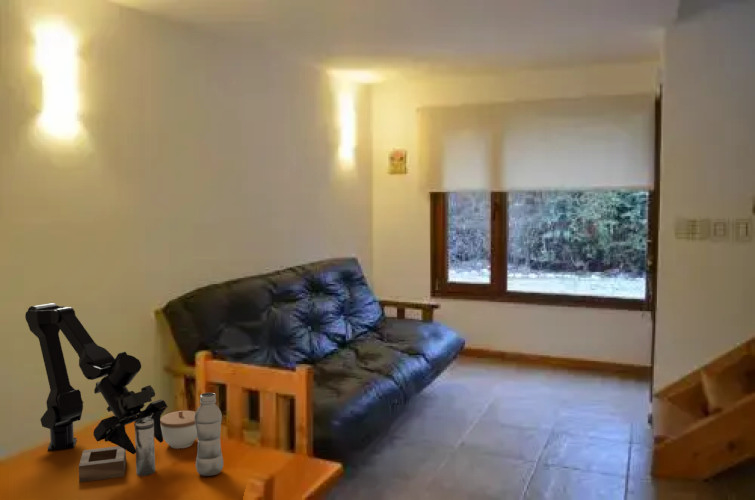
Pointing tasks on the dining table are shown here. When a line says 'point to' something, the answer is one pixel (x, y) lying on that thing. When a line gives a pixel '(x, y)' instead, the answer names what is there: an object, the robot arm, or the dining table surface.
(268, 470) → the dining table surface
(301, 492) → the dining table surface
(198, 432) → the plastic bottle
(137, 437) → the silver metal can
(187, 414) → the lidded jar
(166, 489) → the dining table surface
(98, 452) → the socket block
